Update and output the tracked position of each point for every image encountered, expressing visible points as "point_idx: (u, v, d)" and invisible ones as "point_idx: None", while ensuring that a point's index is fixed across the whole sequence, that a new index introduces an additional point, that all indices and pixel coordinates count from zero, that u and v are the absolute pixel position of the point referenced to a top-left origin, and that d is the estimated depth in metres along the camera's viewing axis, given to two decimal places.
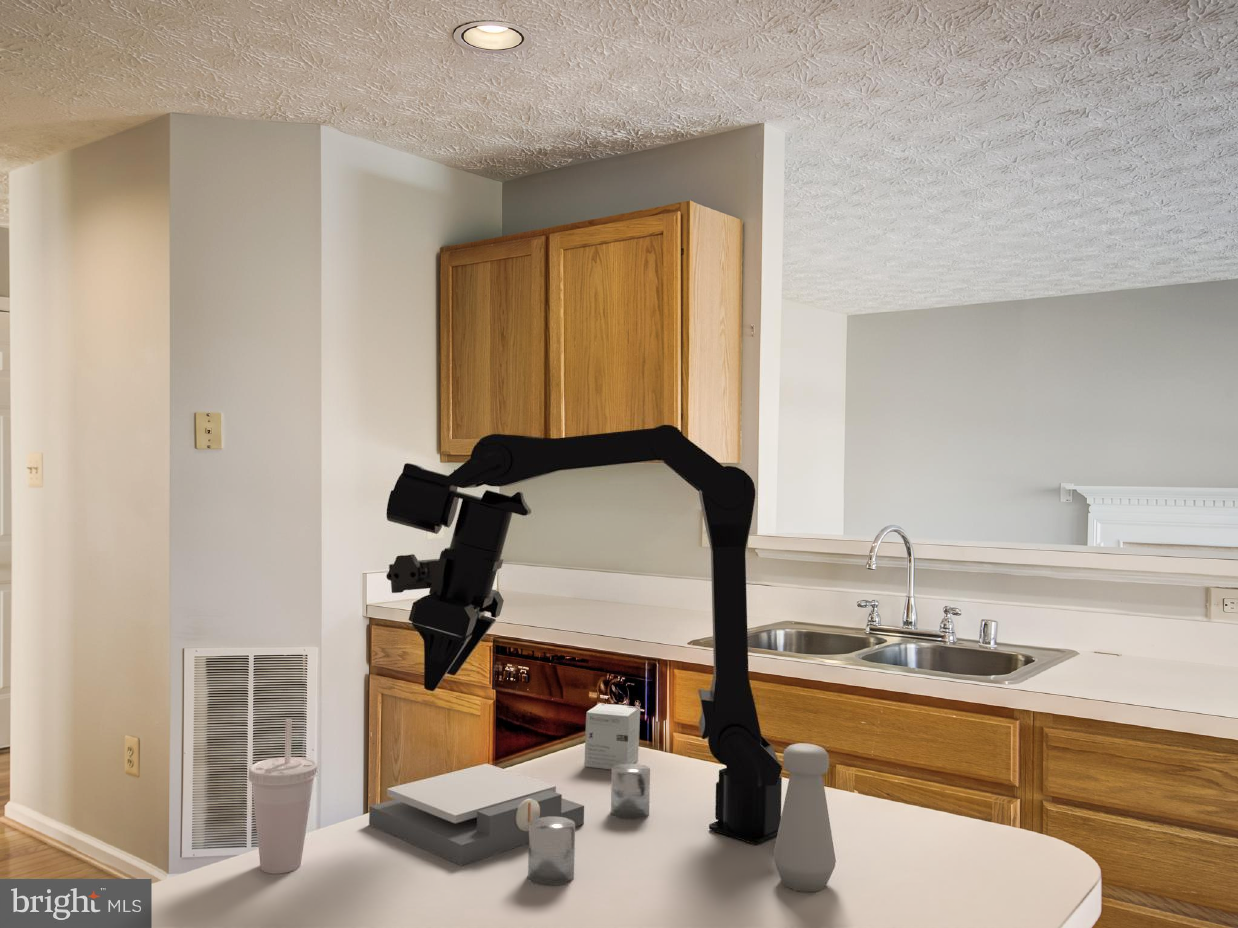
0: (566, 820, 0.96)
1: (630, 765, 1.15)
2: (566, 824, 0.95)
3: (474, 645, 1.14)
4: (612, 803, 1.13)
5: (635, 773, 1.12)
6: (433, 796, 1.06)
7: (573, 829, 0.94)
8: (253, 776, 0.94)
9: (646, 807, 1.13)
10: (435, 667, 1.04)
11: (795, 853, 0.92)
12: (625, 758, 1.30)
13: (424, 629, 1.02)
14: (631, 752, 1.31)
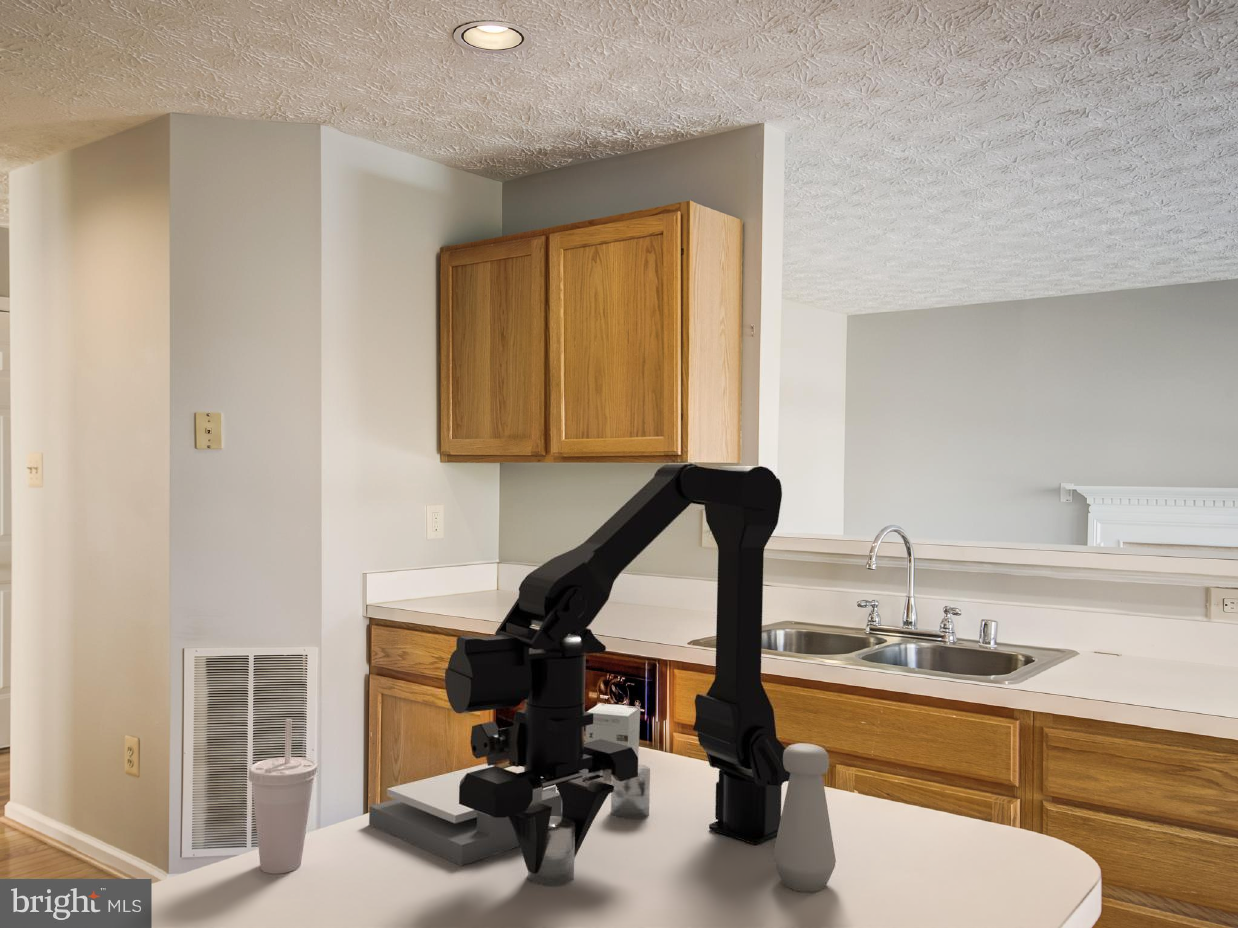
0: (566, 820, 0.96)
1: None
2: (566, 824, 0.95)
3: (584, 822, 0.96)
4: (612, 803, 1.13)
5: None
6: (433, 796, 1.06)
7: (573, 829, 0.94)
8: (253, 776, 0.94)
9: (646, 807, 1.13)
10: (527, 846, 0.92)
11: (795, 853, 0.92)
12: None
13: None
14: None
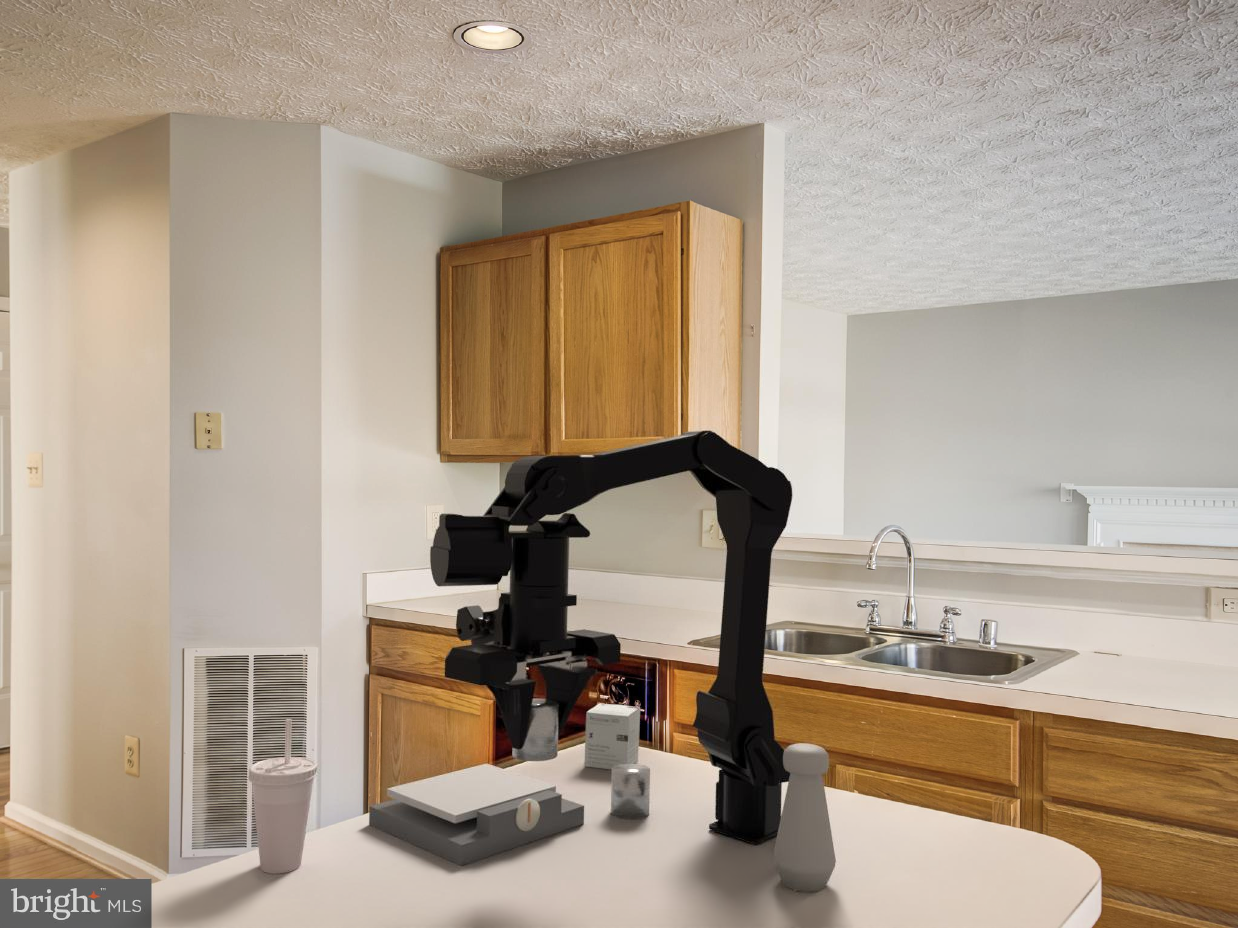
0: (550, 701, 0.98)
1: (630, 765, 1.15)
2: (550, 703, 0.97)
3: (567, 702, 0.98)
4: (612, 803, 1.13)
5: (635, 773, 1.12)
6: (433, 796, 1.06)
7: (557, 707, 0.96)
8: (253, 776, 0.94)
9: (646, 807, 1.13)
10: (511, 722, 0.94)
11: (795, 853, 0.92)
12: (625, 758, 1.30)
13: None
14: (631, 752, 1.31)
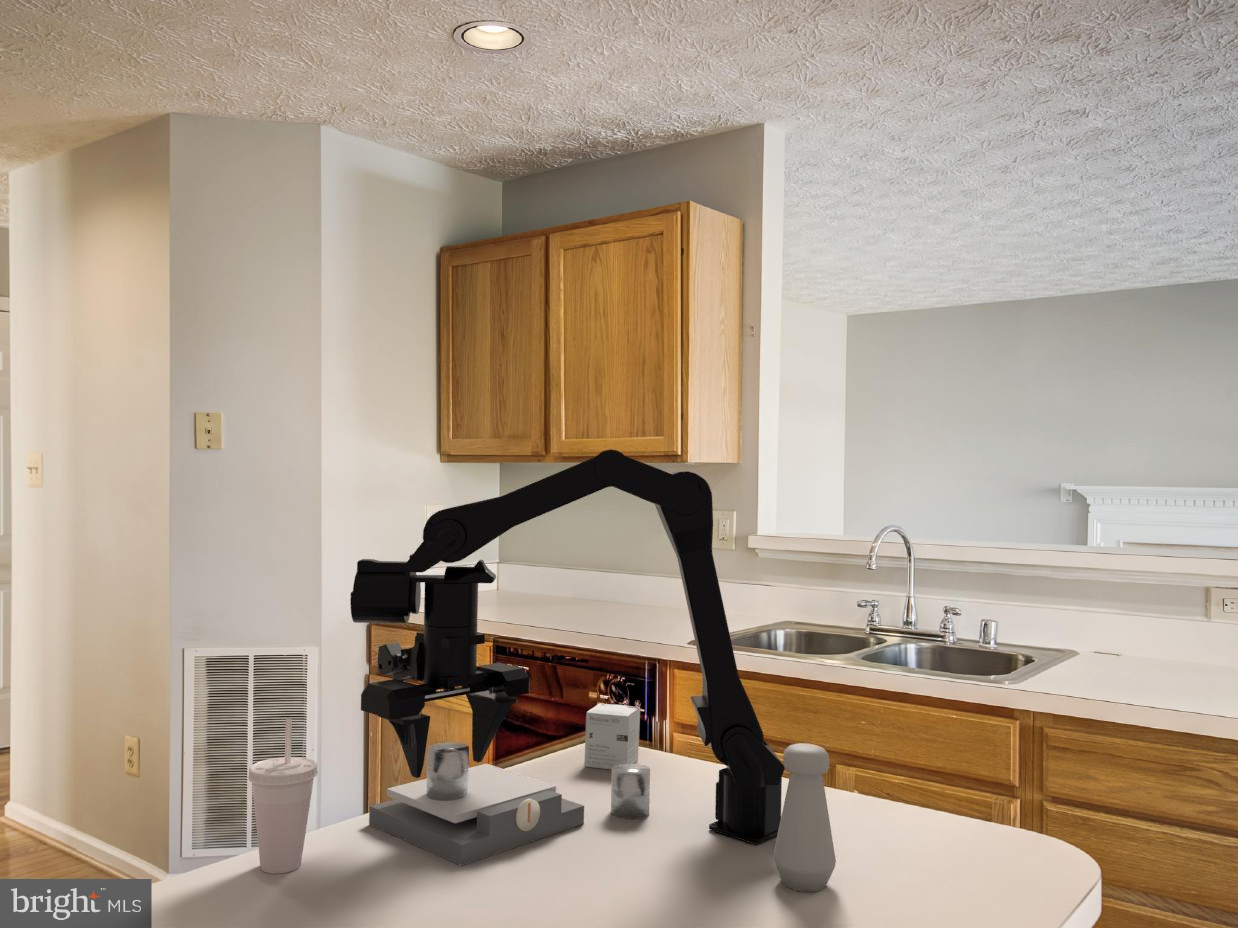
0: (462, 745, 1.08)
1: (630, 765, 1.15)
2: (461, 747, 1.07)
3: (489, 729, 1.09)
4: (612, 803, 1.13)
5: (635, 773, 1.12)
6: None
7: (466, 751, 1.06)
8: (253, 776, 0.94)
9: (646, 807, 1.13)
10: (410, 753, 1.03)
11: (795, 853, 0.92)
12: (625, 758, 1.30)
13: None
14: (631, 752, 1.31)
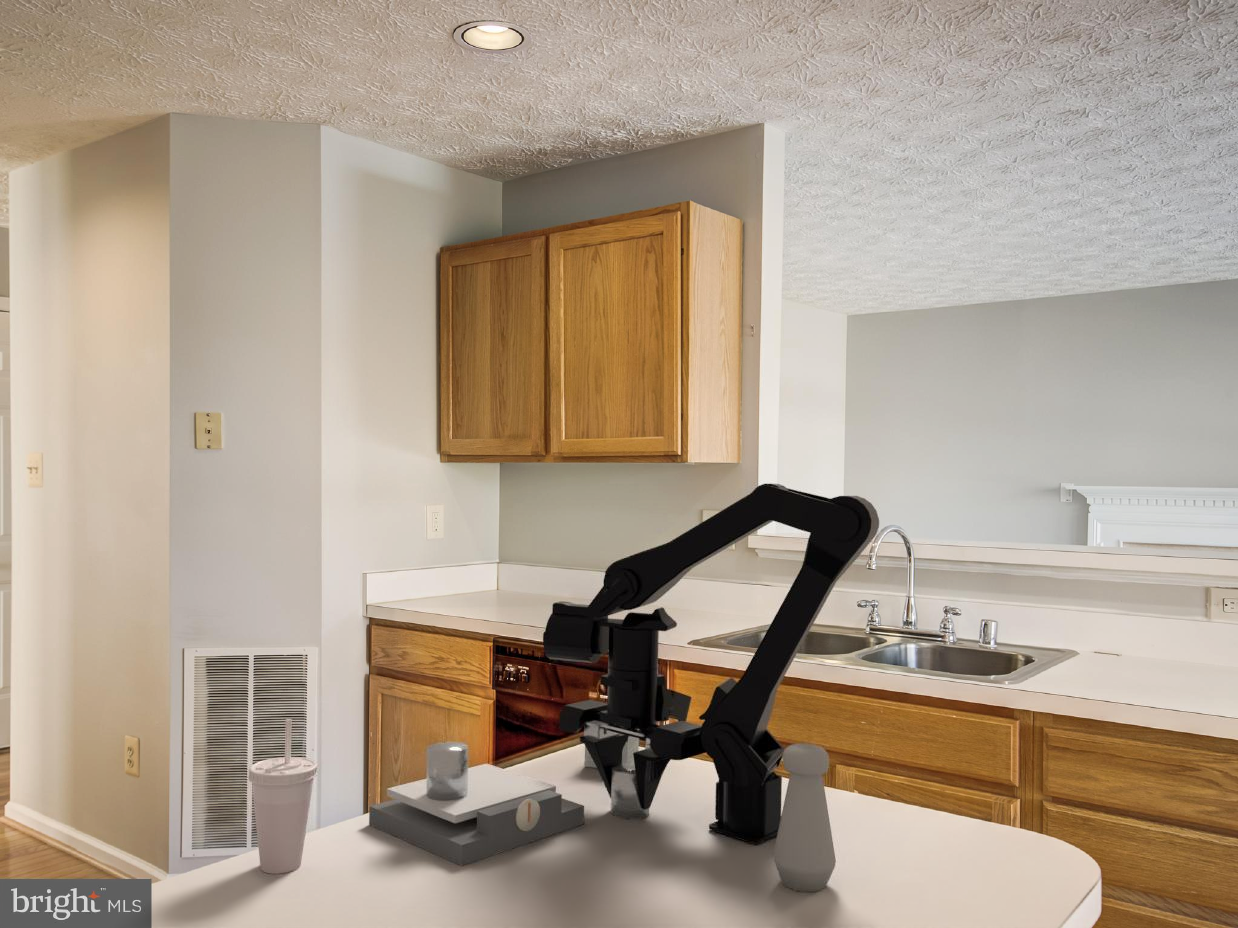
0: (462, 744, 1.08)
1: (630, 765, 1.15)
2: (460, 747, 1.07)
3: (637, 777, 1.11)
4: (612, 803, 1.13)
5: (635, 773, 1.12)
6: None
7: (465, 751, 1.06)
8: (253, 776, 0.94)
9: None
10: None
11: (795, 853, 0.92)
12: (625, 758, 1.30)
13: None
14: (631, 752, 1.31)
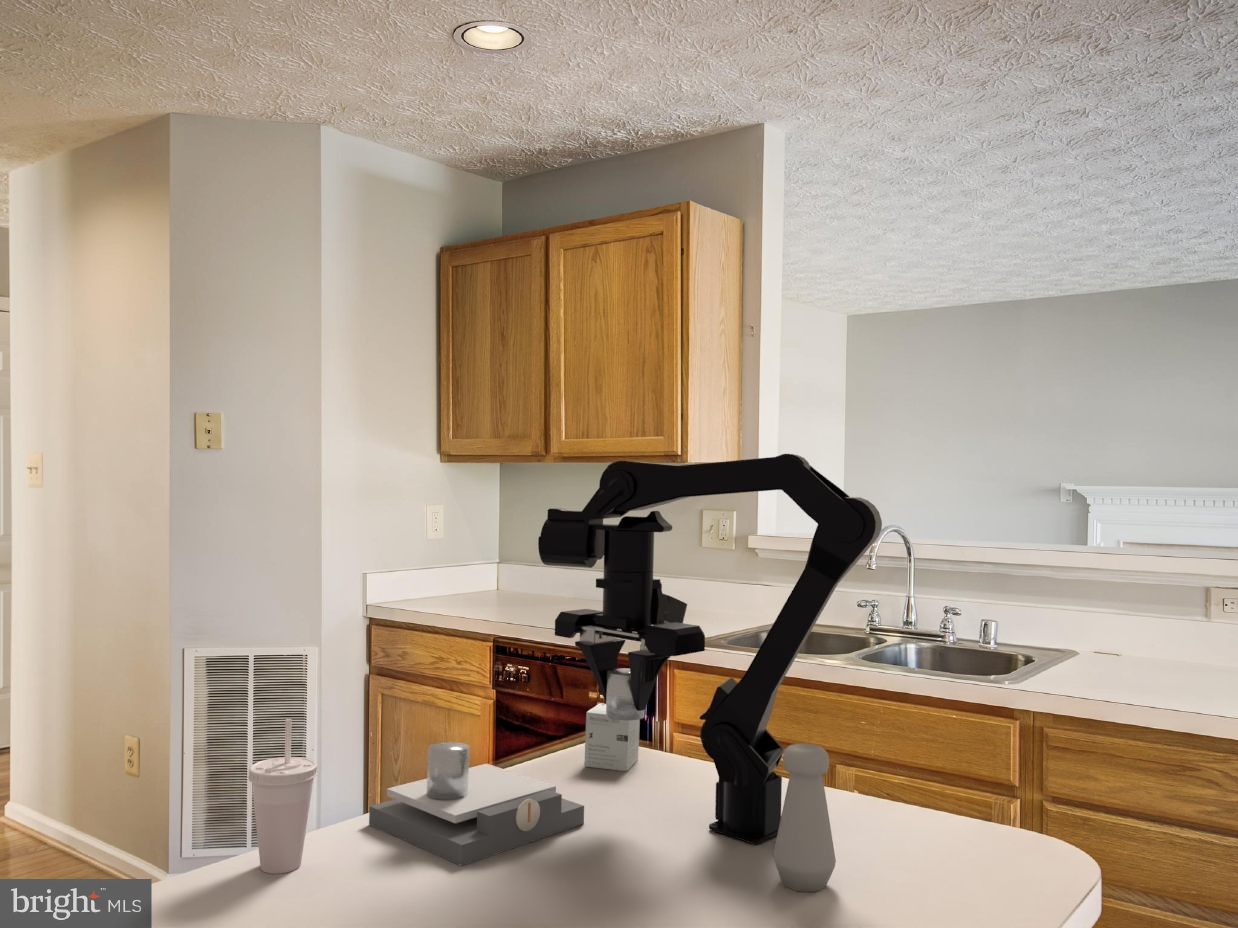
0: (464, 745, 1.08)
1: (625, 669, 1.15)
2: (461, 747, 1.07)
3: None
4: (607, 705, 1.13)
5: (630, 674, 1.12)
6: None
7: (465, 751, 1.06)
8: (253, 776, 0.94)
9: None
10: None
11: (795, 853, 0.92)
12: (625, 758, 1.30)
13: None
14: (631, 752, 1.31)
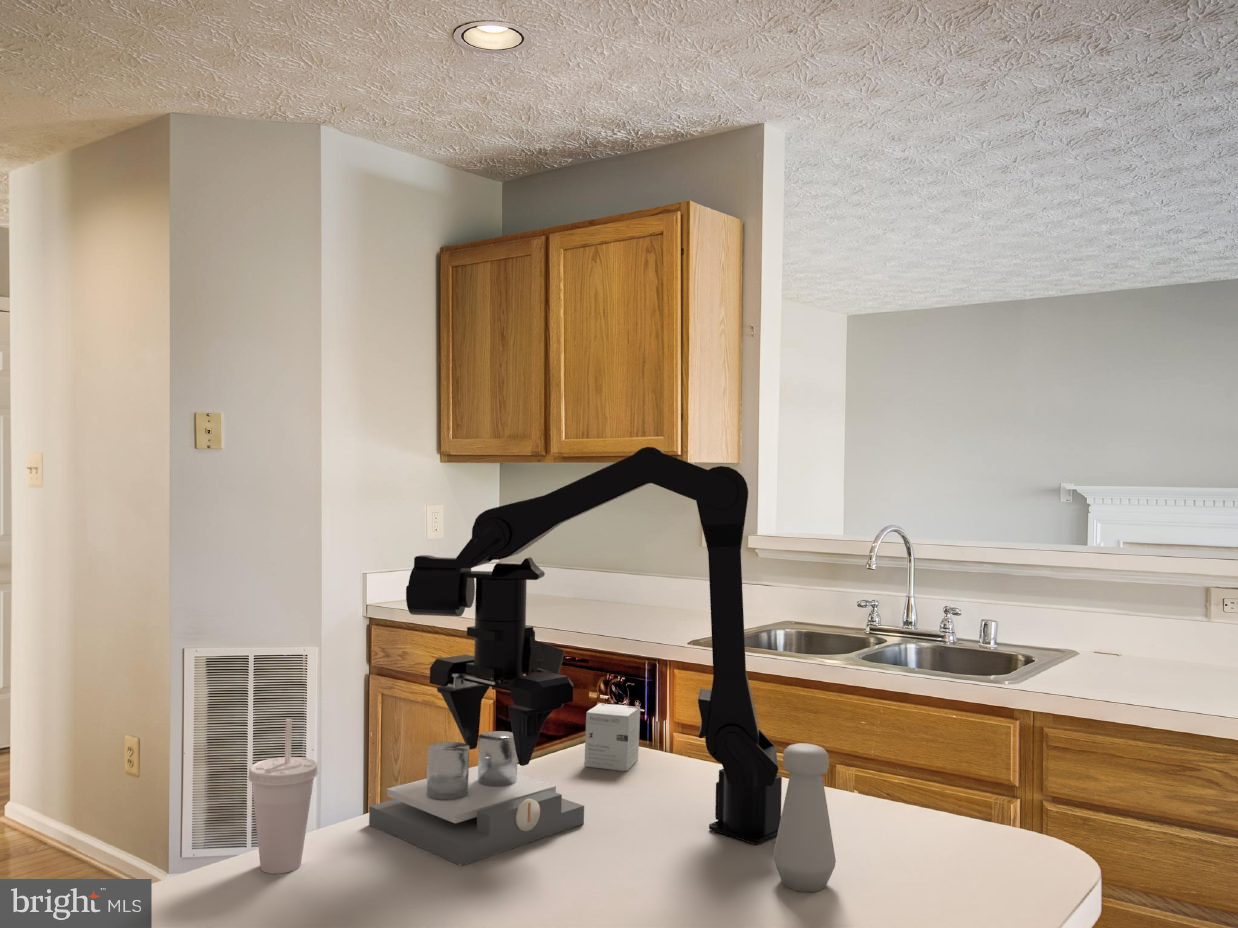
0: (464, 745, 1.08)
1: (499, 732, 1.14)
2: (460, 747, 1.07)
3: (513, 732, 1.08)
4: (478, 770, 1.11)
5: (500, 739, 1.11)
6: None
7: (464, 751, 1.06)
8: (253, 776, 0.94)
9: (512, 774, 1.11)
10: None
11: (795, 853, 0.92)
12: (625, 758, 1.30)
13: None
14: (631, 752, 1.31)
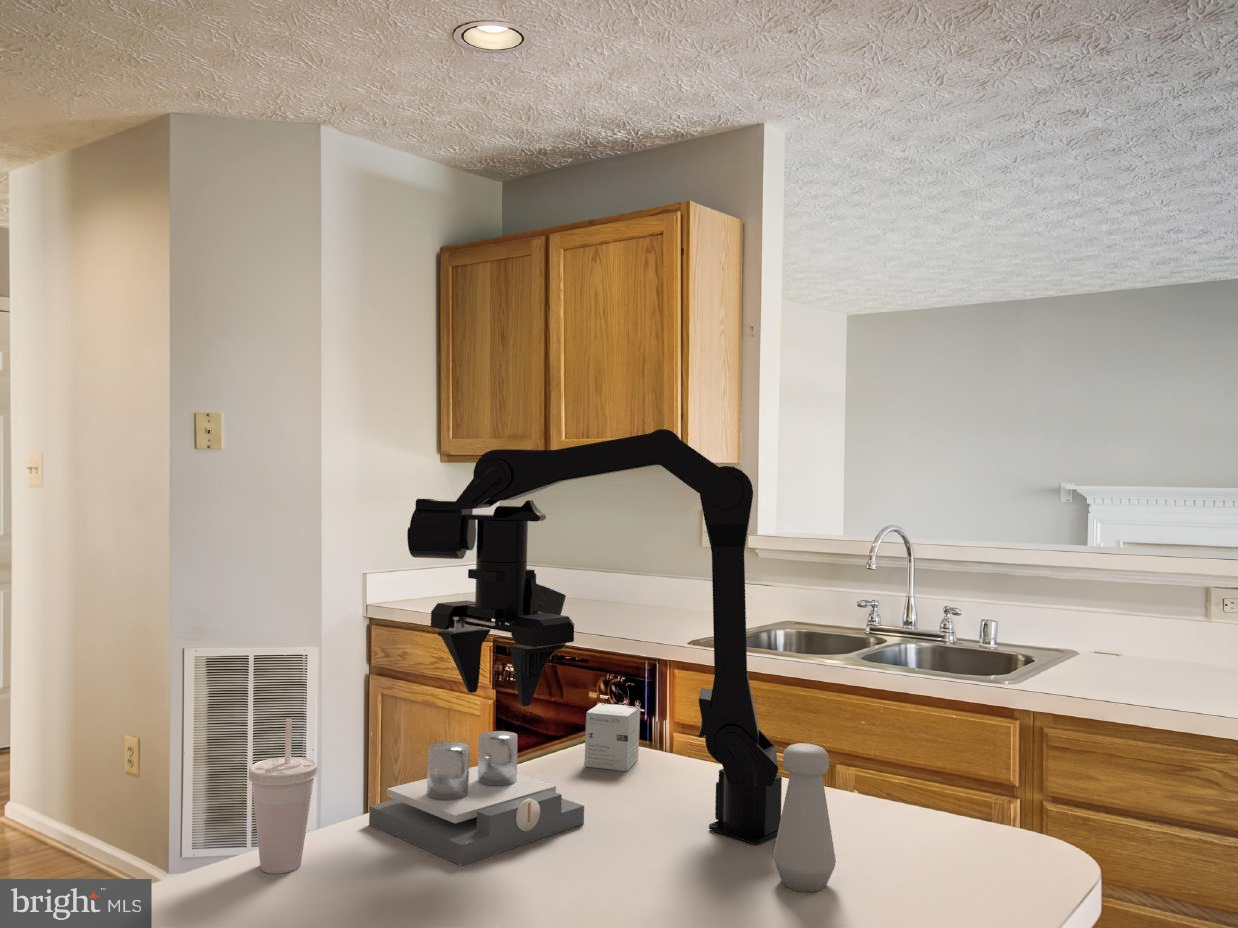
0: (465, 746, 1.08)
1: (498, 732, 1.14)
2: (461, 748, 1.07)
3: None
4: (478, 770, 1.11)
5: (500, 739, 1.11)
6: None
7: (464, 753, 1.06)
8: (253, 776, 0.94)
9: (513, 773, 1.11)
10: None
11: (795, 853, 0.92)
12: (625, 758, 1.30)
13: None
14: (631, 752, 1.31)
